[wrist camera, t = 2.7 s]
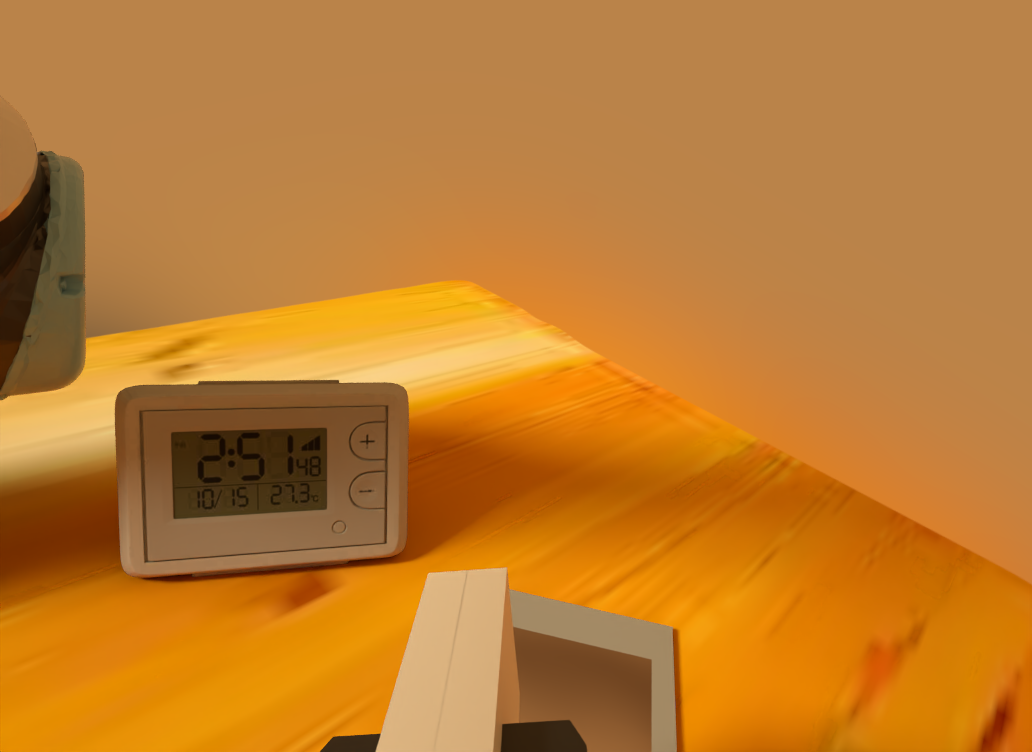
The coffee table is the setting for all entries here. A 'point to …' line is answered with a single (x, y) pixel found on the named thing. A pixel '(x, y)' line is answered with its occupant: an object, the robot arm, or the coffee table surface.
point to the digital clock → (260, 475)
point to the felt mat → (610, 648)
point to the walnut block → (586, 690)
